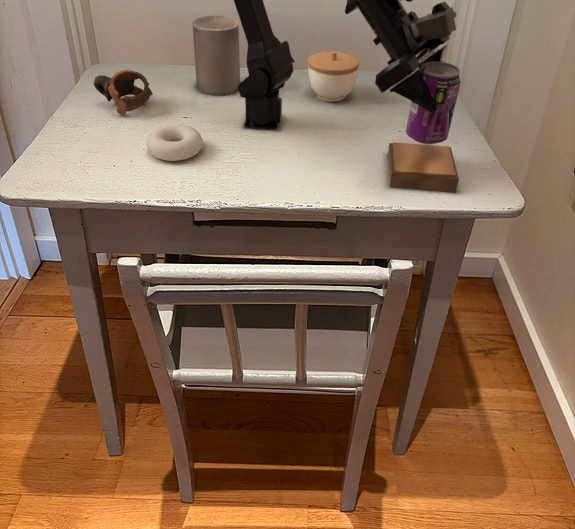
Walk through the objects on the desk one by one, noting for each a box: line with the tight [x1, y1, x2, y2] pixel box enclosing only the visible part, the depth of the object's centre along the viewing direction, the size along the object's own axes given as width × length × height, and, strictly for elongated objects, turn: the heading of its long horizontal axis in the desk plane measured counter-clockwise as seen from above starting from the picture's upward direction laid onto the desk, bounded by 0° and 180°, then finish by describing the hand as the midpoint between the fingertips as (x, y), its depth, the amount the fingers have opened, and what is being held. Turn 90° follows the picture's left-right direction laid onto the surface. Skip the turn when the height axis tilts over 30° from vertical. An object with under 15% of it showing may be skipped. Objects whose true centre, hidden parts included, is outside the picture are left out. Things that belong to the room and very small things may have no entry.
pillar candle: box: [192, 15, 241, 96], centre depth 121 cm, size 10×10×15 cm
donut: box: [146, 124, 204, 162], centre depth 102 cm, size 10×4×10 cm
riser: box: [386, 141, 460, 193], centre depth 98 cm, size 11×11×3 cm
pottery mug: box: [93, 69, 154, 116], centre depth 115 cm, size 12×10×8 cm
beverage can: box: [405, 61, 461, 145], centre depth 93 cm, size 7×7×12 cm
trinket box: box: [307, 51, 360, 103], centre depth 121 cm, size 11×11×9 cm
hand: (441, 103), depth 92 cm, fingers closed on beverage can, 7 cm apart
